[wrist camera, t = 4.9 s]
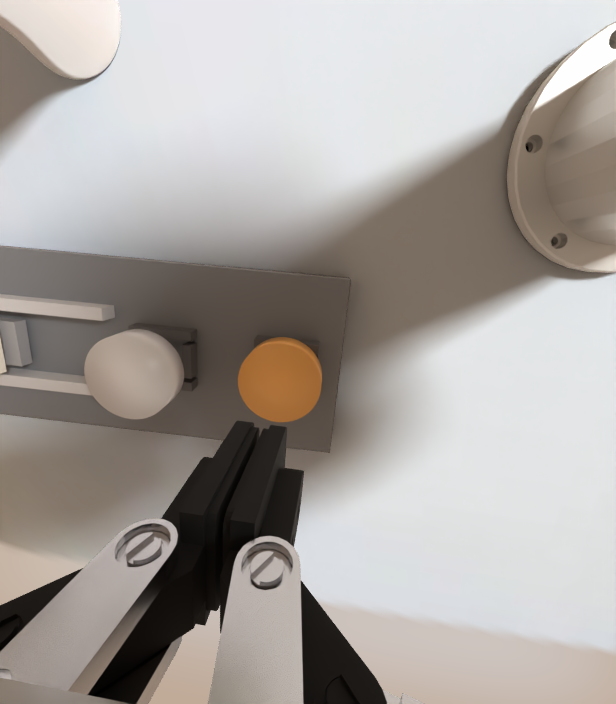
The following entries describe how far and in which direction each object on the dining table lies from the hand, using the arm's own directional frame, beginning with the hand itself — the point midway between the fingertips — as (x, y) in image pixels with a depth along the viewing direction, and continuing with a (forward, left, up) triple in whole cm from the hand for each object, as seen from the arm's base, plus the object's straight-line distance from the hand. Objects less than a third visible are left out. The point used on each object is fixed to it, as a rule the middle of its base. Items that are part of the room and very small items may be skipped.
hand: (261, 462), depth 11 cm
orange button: (+1, 0, -11) cm, 11 cm away
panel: (+11, 0, -13) cm, 17 cm away
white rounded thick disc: (+9, 0, -9) cm, 12 cm away
